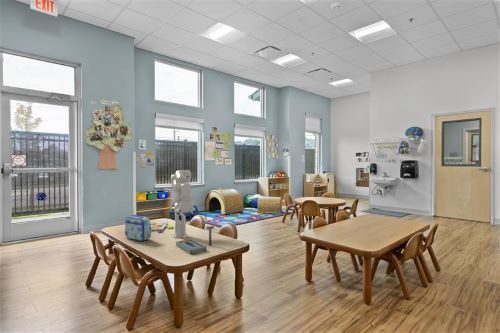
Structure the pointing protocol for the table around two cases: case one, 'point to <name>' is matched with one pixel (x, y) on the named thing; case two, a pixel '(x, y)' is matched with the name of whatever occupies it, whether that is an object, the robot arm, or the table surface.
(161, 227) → the pattern blocks set
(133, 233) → the lunch box
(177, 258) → the table surface
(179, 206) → the robot arm
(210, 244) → the stake
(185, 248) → the tray
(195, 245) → the grey elongated block
